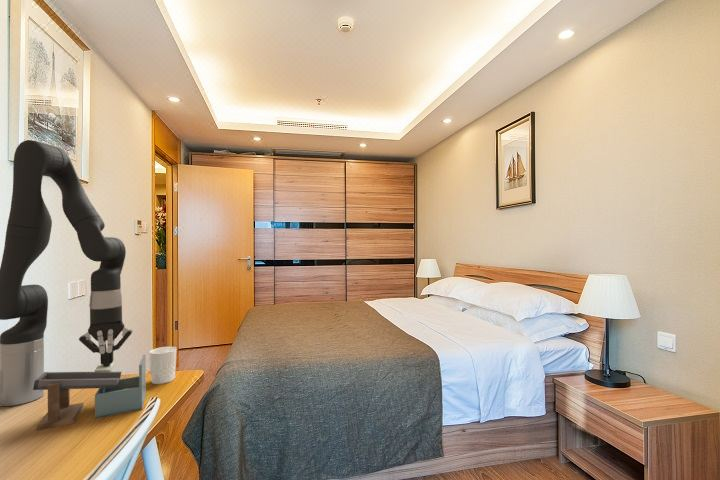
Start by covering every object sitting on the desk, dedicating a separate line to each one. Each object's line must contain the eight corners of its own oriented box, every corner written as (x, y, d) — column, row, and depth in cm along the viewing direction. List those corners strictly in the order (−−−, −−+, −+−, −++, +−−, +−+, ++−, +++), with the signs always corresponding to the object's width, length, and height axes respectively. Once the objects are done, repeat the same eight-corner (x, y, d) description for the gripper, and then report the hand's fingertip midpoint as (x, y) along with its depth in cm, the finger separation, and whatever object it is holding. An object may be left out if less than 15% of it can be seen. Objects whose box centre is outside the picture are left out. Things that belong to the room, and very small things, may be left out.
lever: (32, 390, 84) (35, 379, 84) (51, 372, 96) (53, 362, 96) (115, 387, 92) (117, 377, 92) (123, 371, 104) (125, 362, 104)
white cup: (164, 385, 109) (164, 354, 109) (143, 384, 110) (143, 353, 110) (182, 376, 116) (181, 346, 116) (162, 375, 118) (161, 345, 118)
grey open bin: (95, 418, 88) (94, 371, 88) (103, 403, 97) (103, 360, 97) (141, 409, 93) (141, 364, 93) (145, 395, 102) (145, 354, 102)
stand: (36, 430, 83) (36, 387, 83) (50, 412, 92) (50, 374, 92) (73, 423, 86) (73, 382, 86) (83, 406, 95) (83, 369, 95)
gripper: (134, 301, 106) (135, 357, 106) (81, 306, 100) (81, 365, 100) (131, 305, 99) (132, 365, 99) (73, 310, 93) (74, 374, 93)
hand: (107, 365), depth 100 cm, fingers closed
